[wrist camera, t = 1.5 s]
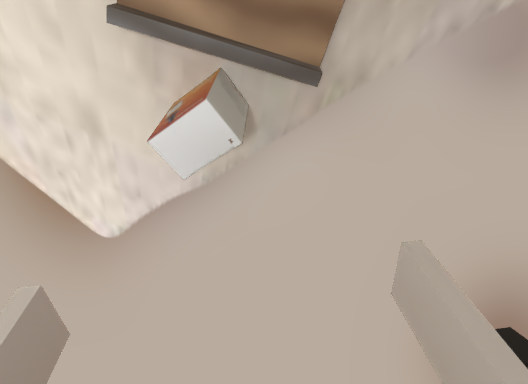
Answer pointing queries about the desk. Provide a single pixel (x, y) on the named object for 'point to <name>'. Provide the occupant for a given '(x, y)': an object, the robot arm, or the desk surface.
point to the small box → (201, 125)
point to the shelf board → (240, 30)
